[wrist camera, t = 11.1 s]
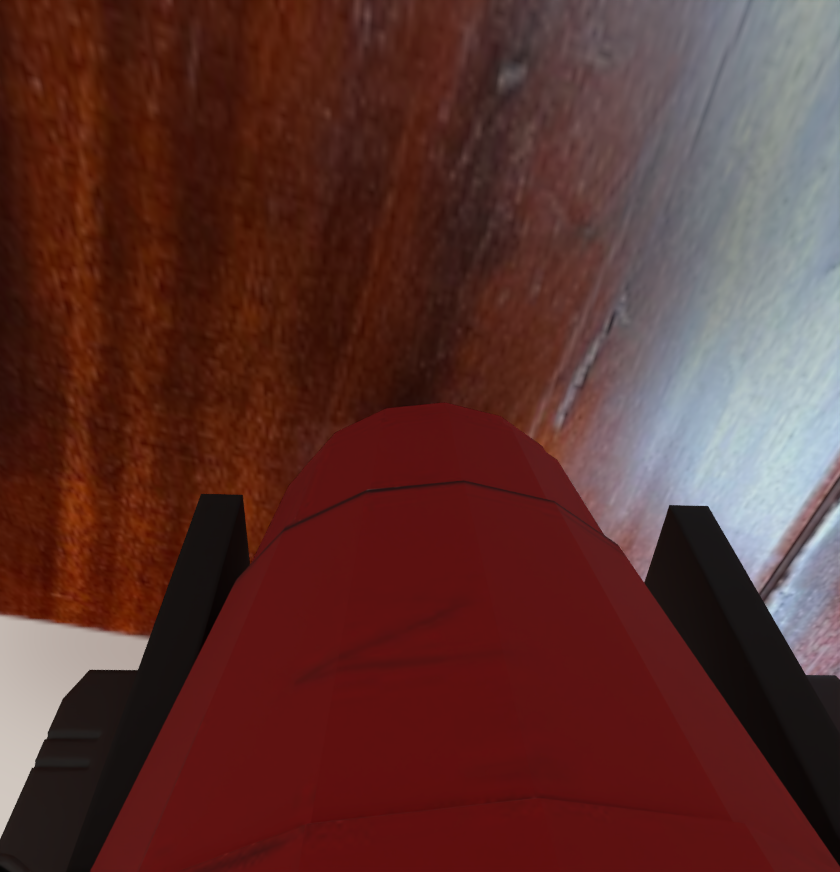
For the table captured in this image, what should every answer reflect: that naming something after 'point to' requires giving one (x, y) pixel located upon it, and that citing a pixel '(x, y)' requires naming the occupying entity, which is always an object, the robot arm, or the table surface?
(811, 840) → the plastic cup
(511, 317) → the table surface
